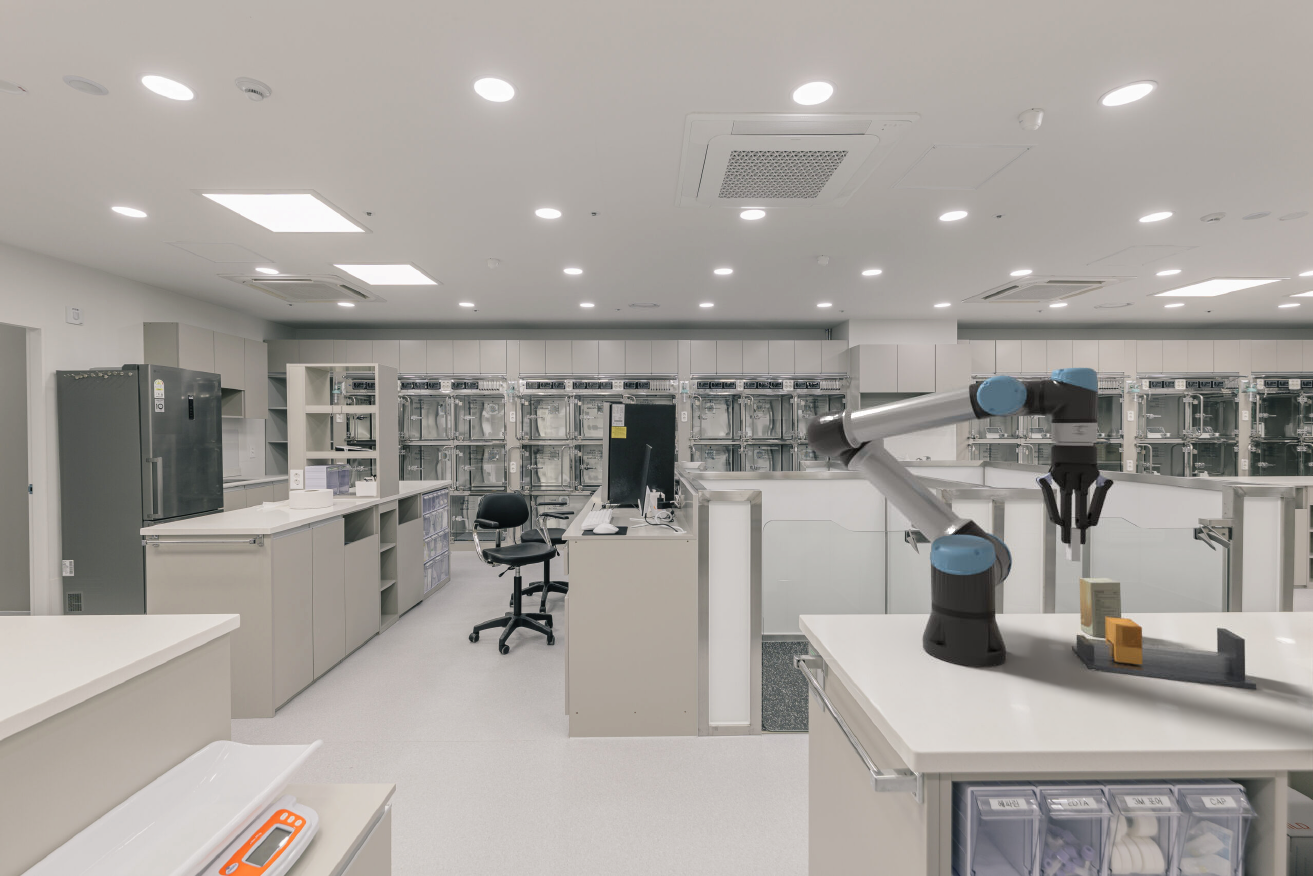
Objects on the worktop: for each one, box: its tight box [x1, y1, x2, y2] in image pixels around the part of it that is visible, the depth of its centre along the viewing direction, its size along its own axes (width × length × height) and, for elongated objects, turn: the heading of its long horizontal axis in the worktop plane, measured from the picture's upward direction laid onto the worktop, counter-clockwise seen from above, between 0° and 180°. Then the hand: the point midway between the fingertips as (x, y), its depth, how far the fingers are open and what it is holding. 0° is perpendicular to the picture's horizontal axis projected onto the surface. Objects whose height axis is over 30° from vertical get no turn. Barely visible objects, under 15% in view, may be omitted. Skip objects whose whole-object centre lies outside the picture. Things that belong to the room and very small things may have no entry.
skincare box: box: [1079, 577, 1122, 637], centre depth 124 cm, size 6×4×12 cm
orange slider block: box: [1104, 617, 1143, 665], centre depth 108 cm, size 4×5×7 cm
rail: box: [1071, 627, 1257, 690], centre depth 106 cm, size 24×10×8 cm, turn 68°
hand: (1073, 559), depth 113 cm, fingers closed
